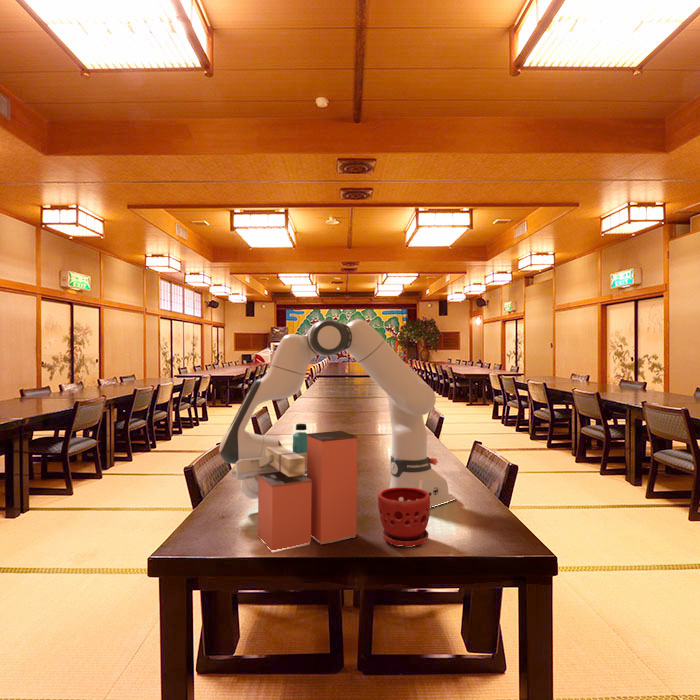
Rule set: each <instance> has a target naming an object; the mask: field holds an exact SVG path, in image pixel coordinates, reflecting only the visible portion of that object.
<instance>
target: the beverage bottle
mask: <svg viewBox="0 0 700 700" xmlns="http://www.w3.org/2000/svg"><path fill="white" fill-rule="evenodd" d="M307 429H308V428H307V424H306V423H297V424H295V430H296V431H298V432H295V433H294V434H293V435H292V445H291V446H292V452H295V453H296V454H300V453H307V434H308V433H307V432H305V431H306V430H307ZM305 475H307V470H306V471H305Z"/></svg>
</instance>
